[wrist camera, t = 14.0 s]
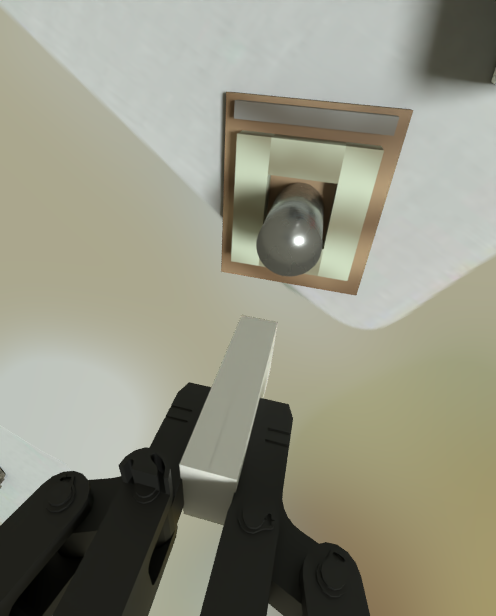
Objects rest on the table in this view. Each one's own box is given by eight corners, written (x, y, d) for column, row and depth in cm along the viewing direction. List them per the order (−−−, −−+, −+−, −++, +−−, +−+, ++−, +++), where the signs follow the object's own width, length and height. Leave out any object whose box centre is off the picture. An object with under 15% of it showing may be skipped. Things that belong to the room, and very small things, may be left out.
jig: (229, 91, 27) (218, 93, 25) (410, 109, 25) (418, 112, 23) (223, 267, 36) (215, 280, 34) (355, 290, 34) (357, 306, 32)
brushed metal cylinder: (275, 181, 29) (256, 212, 22) (326, 183, 28) (326, 216, 21) (272, 230, 31) (255, 273, 24) (320, 233, 31) (318, 279, 23)
